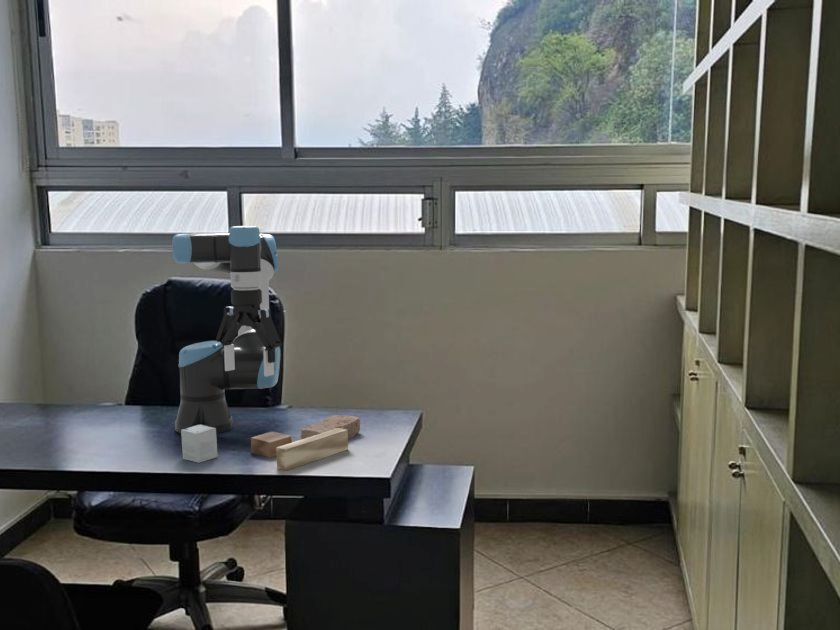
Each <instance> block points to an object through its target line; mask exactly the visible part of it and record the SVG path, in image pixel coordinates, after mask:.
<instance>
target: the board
mask: <svg viewBox="0 0 840 630" xmlns="http://www.w3.org/2000/svg"><path fill="white" fill-rule="evenodd" d="M348 450H349V438H348V430H346V429H342V428H337V429H334V430H330V431H327V432H324V433H321V434H318V435H314V436H311V437H308V438H305V439H302V440H301V439H298V440H296V441H292V443H289V444H286V445H282V446H279V447H276V453H277V456H276V468H277V469H278V470H282V471H289V470H293V469H295V468H299V467H301V466H303V465H304V466H305V465H306V464H309V463H313V462H315V461H318V460H321V459H324V458H327V457H329V456H333V455H336V454H339V453H342V452H344V451H348Z"/></svg>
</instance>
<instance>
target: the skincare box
mask: <svg viewBox="0 0 840 630" xmlns="http://www.w3.org/2000/svg"><path fill="white" fill-rule="evenodd" d="M180 435H181V448H182V449H181V451H182V459H183V460H186V461H189V462H190V461H191V462H194V463H198V464H199V463H203V462H206V461H209V460H212V459H215V458H218V443H217V442H218V440H217V433H216V428H213V427H208V426H204V425H196V426H193V427H189V428H186V429H182V430H181V433H180Z"/></svg>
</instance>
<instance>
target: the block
mask: <svg viewBox="0 0 840 630" xmlns="http://www.w3.org/2000/svg"><path fill="white" fill-rule="evenodd" d="M292 438H293V437H292V435H288V434H285V433H280V432H278V431H277V432H276V431H269V432H265V433H262V434H258V435H254V436H252V437H250V453H251V454H252V453H253V454H256V455H259V456H263V457H267V458H274V457H277V453H276V447H279V446H282V445H286V444H289V443H292V442H293V439H292Z"/></svg>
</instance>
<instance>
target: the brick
mask: <svg viewBox="0 0 840 630" xmlns="http://www.w3.org/2000/svg"><path fill="white" fill-rule="evenodd" d="M337 428H342V429H346V430H348V439H350V438H352V437H355V436H356V435H357V434H359V433H360V430H361V418H360V417H358V416H353V415H352V416H351V415H341V414H340V415H336V414H333V415H331V416H328V417H326V418H324V419H322V421H319V422H316V423H313V424H310V425H308V426H305V427H304V428H302V429H301V433H300V440H302V439H305V438H308V437H311V436H314V435H318V434H321V433H324V432H327V431H330V430H334V429H337Z"/></svg>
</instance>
